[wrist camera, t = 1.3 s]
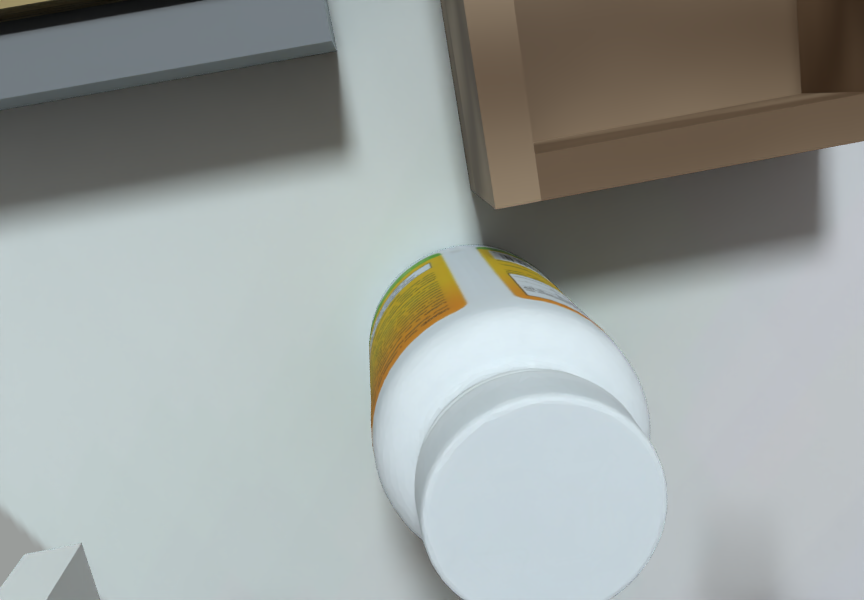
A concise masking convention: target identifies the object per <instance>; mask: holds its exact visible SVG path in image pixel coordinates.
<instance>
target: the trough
mask: <svg viewBox="0 0 864 600" xmlns="http://www.w3.org/2000/svg"><path fill="white" fill-rule="evenodd" d="M440 1H441V7H442V13H443V20H444V26H445V32H446V38H447V45H448V51H449V57H450V63H451V69H452V76H453V82H454V88H455V94H456V100H457V107H458V113H459V119H460V125H461V132H462V138H463V144H464V150H465V156H466V163H467V169H468V175H469V181H470V188H471V190H472V191H473V192H474V193H475V194H477V195H478V196H479V197H480V198H482V199H483V200H484V201H486V202H487V203H488V204H489V205H491V206H492V207H493V208H494V209H501V208H506V207H512V206H517V205H523V204H528V203H533V202H539V201H544V200H549V199H555V198H560V197H565V196H571V195H576V194H582V193H587V192H592V191H598V190H603V189H608V188H614V187H619V186H625V185H630V184H635V183H641V182H646V181H651V180H657V179H662V178H668V177H673V176H678V175H684V174H689V173H694V172H700V171H705V170H710V169H716V168H721V167H727V166H732V165H737V164H743V163H748V162H753V161H759V160H764V159H770V158H775V157H780V156H786V155H791V154H796V153H802V152H807V151H812V150H818V149H823V148H829V147H834V146H839V145H845V144H850V143H855V142H861V141H864V0H440Z"/></svg>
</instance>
